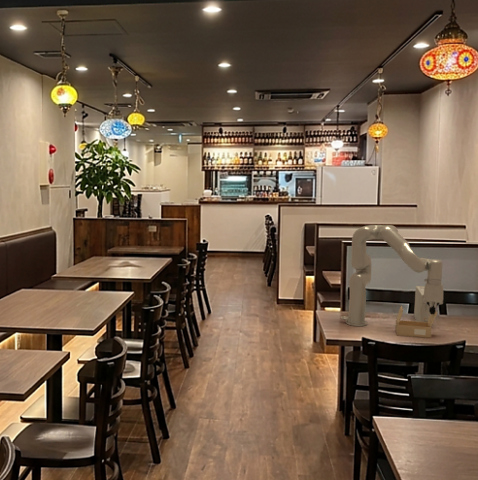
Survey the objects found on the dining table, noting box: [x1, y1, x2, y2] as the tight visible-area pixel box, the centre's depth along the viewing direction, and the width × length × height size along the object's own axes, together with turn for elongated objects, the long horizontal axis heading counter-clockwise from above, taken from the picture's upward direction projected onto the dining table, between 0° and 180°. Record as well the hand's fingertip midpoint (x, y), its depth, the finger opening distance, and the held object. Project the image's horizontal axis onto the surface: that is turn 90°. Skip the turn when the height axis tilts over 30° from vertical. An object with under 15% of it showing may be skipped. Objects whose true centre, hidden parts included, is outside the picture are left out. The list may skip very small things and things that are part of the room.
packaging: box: [413, 285, 432, 327], centre depth 329 cm, size 30×6×20 cm, turn 168°
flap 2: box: [428, 309, 438, 327], centre depth 299 cm, size 1×11×8 cm, turn 169°
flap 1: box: [395, 305, 404, 323], centre depth 303 cm, size 1×11×8 cm, turn 169°
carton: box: [394, 319, 432, 339], centre depth 302 cm, size 18×12×6 cm
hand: (432, 313), depth 299 cm, fingers closed
